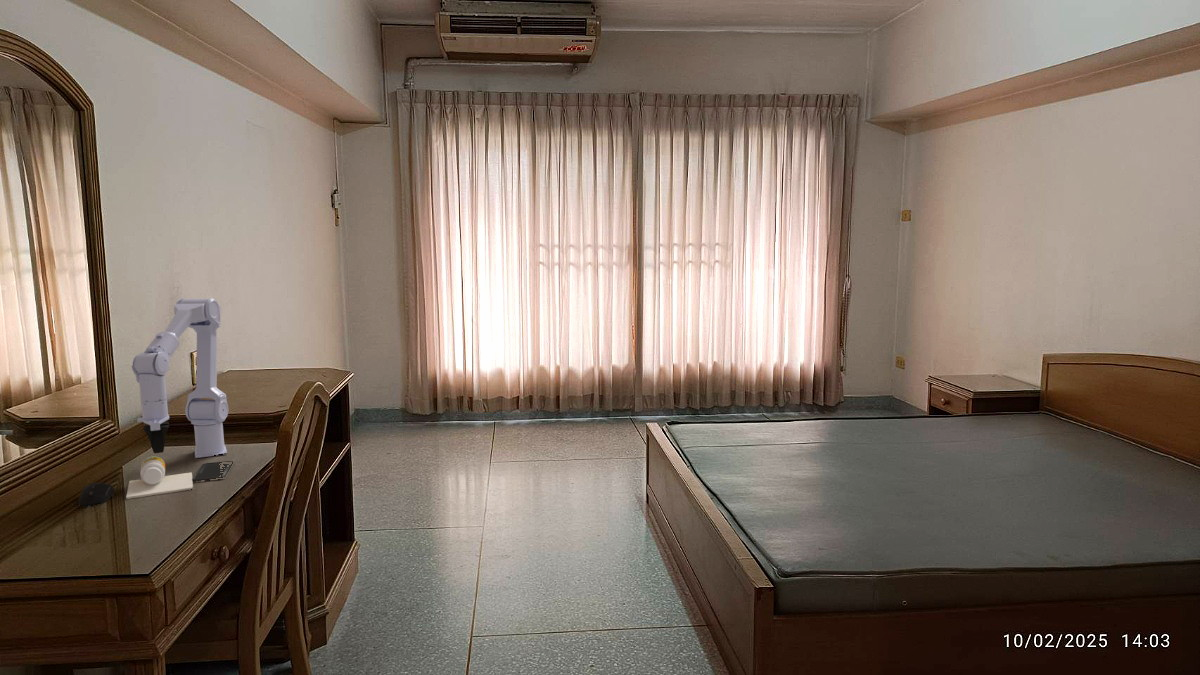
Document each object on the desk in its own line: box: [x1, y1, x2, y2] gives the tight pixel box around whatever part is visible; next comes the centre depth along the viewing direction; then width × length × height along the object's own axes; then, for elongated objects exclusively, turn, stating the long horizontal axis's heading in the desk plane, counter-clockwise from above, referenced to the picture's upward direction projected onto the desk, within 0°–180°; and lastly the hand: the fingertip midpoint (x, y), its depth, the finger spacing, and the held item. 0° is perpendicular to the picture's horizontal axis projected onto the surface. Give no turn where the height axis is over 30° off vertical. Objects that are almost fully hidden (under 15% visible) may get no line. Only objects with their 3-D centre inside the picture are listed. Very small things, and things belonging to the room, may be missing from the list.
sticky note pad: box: [125, 471, 194, 500], centre depth 197 cm, size 14×14×1 cm
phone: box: [192, 460, 234, 483], centre depth 208 cm, size 8×1×15 cm
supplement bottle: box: [139, 455, 166, 484], centre depth 199 cm, size 5×5×10 cm
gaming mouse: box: [77, 481, 115, 509], centre depth 187 cm, size 6×15×4 cm, turn 19°
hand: (158, 452), depth 202 cm, fingers closed
